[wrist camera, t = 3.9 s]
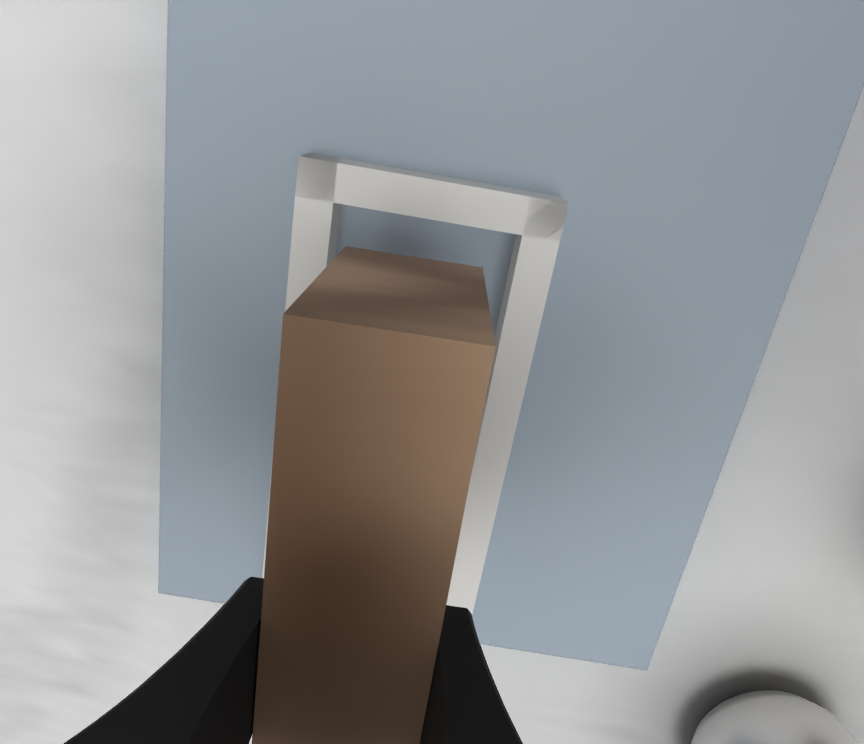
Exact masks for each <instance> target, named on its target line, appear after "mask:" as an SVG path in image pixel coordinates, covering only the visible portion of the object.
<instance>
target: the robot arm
mask: <svg viewBox="0 0 864 744" xmlns="http://www.w3.org/2000/svg"><path fill="white" fill-rule="evenodd" d="M263 584H264V578H258V577H249V578H248V579H246V580H245V581H244V582H243V583H242V584H241V586H240V587H239V588H238V589H237V590H236V592H235V593H234V594H233V595H232V596H231V597H230V598H229V600H228V601H227V602H226V603H225V604H224V605H223V606H222V607H221V608H220V610H219V611H218V612H217V613H216V614H215V615H214V616H213V617H212V618H211V619H210V620H209V621H208V622H207V623H206V624H205V625H204V626H203V627H202V628H201V629H200V630H199V631H198V632H197V633H196V634H195V635H194V636H193V637H192V638H191V639H190V640H189V641H188V642H187V643H186V644H185V645H184V646H183V647H182V648H181V649H180V650H179V651H178V652H177V653H176V654H175V655H174V656H173V657H172V658H171V659H169V660H168V661H167V662H166V663H165V664H164V665H163V666H162V667H161V668H159V669H158V670H157V671H156V672H155V673H154V674H153V675H152V676H151V677H149V678H148V679H147V680H146V681H145V682H144V683H143V684H141V685H140V686H139V687H138V688H137V689H136V690H134V691H133V692H132V693H131V694H130V695H128V696H127V697H126V698H125V699H123V700H122V701H121V702H120V703H118V704H117V705H116V706H115V707H113V708H112V709H111V710H109V711H108V712H107V713H105V714H104V715H103V716H102V717H100V718H99V719H98V720H96V721H95V722H94V723H92V724H91V725H89V726H88V727H87V728H85V729H84V730H82V731H81V732H79V733H78V734H77V735H75V736H74V737H72V738H71V739H70V740H68V741H67V742H65V743H64V744H249V741H250V739H251V736H252V734H253V722H254V709H255V695H256V681H257V667H258V653H259V640H260V626H261V612H262V598H263ZM420 744H523V743H522V741H521V739H520V737H519V735H518V733H517V731H516V729H515V727H514V725H513V723H512V721H511V719H510V717H509V715H508V712H507V710H506V708H505V706H504V704H503V701H502V699H501V697H500V694H499V692H498V690H497V687H496V685H495V683H494V680H493V678H492V675H491V673H490V670H489V668H488V665H487V662H486V660H485V657H484V654H483V651H482V648H481V645H480V642H479V639H478V636H477V633H476V629H475V626H474V622H473V618H472V614H471V612H470V611H469V610H468V609H467V608H463V607H456V606H449V605H446V609H445V614H444V619H443V624H442V630H441V635H440V640H439V645H438V650H437V656H436V661H435V666H434V671H433V676H432V682H431V687H430V692H429V697H428V703H427V708H426V713H425V718H424V723H423V729H422V734H421V739H420Z"/></svg>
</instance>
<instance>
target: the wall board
mask: <svg viewBox="0 0 864 744" xmlns="http://www.w3.org/2000/svg"><path fill="white" fill-rule="evenodd" d="M863 86H864V0H168V28H167V90H166V152H165V213H164V275H163V337H162V399H161V461H160V523H159V585H158V593H162V594H168V595H174V596H180V597H187V598H193V599H199V600H206V601H212V602H218V603H226V602H227V601H228V600H229V598H230V597H231V596H232V595H233V594H234V593H235V592H236V590H237V589H238V588H239V587H240V586H241V584H242V583H243V582H244V581H245V580H246V579H248V578H249V577H258V578H264V570H265V557H266V543H267V529H268V515H269V501H270V488H271V474H272V460H273V446H274V432H275V419H276V405H277V391H278V377H279V363H280V350H281V336H282V322H283V313H284V312H285V311H286V310H287V309H288V308H289V307H290V306H291V305H292V304H293V303H294V302H295V300H296V299H297V298H298V297H299V296H300V295H301V294H302V293H303V292H304V291H305V290H306V289H307V287H308V286H309V285H310V284H311V283H312V282H313V281H314V280H315V279H316V278H317V277H318V275H319V274H320V273H321V272H322V271H323V270H324V269H325V268H326V267H327V266H328V265H329V264H330V262H331V261H332V260H333V259H334V258H335V257H336V256H337V255H338V254H339V253H340V252H341V250H342V249H343V248H344V247H345V246H348V247H355V248H361V249H367V250H374V251H380V252H387V253H393V254H400V255H406V256H413V257H419V258H426V259H432V260H438V261H445V262H451V263H458V264H464V265H471V266H477V267H483V273H484V279H485V285H486V291H487V297H488V303H489V309H490V315H491V321H492V327H493V333H494V339H495V345H496V348H495V353H494V358H493V363H492V369H491V374H490V379H489V384H488V389H487V395H486V400H485V405H484V410H483V416H482V421H481V426H480V431H479V436H478V442H477V447H476V452H475V457H474V463H473V468H472V473H471V478H470V483H469V489H468V494H467V499H466V504H465V510H464V515H463V520H462V525H461V530H460V536H459V541H458V546H457V551H456V556H455V562H454V567H453V572H452V577H451V583H450V588H449V593H448V598H447V603H446V605H449V606H456V607H463V608H467V609H468V610H469V611H470V612H471V614H472V618H473V622H474V626H475V629H476V633H477V636H478V639H479V642H480V644H483V645H489V646H496V647H502V648H508V649H515V650H521V651H527V652H533V653H540V654H546V655H552V656H559V657H565V658H571V659H578V660H584V661H590V662H596V663H603V664H609V665H615V666H622V667H628V668H634V669H641V670H647V668H648V666H649V663H650V660H651V658H652V655H653V652H654V650H655V647H656V644H657V641H658V639H659V636H660V633H661V631H662V628H663V625H664V623H665V620H666V617H667V614H668V612H669V609H670V606H671V604H672V601H673V598H674V596H675V593H676V590H677V588H678V585H679V582H680V579H681V577H682V574H683V571H684V569H685V566H686V563H687V561H688V558H689V555H690V552H691V550H692V547H693V544H694V542H695V539H696V536H697V534H698V531H699V528H700V525H701V523H702V520H703V517H704V515H705V512H706V509H707V507H708V504H709V501H710V498H711V496H712V493H713V490H714V488H715V485H716V482H717V480H718V477H719V474H720V471H721V469H722V466H723V463H724V461H725V458H726V455H727V453H728V450H729V447H730V445H731V442H732V439H733V436H734V434H735V431H736V428H737V426H738V423H739V420H740V418H741V415H742V412H743V409H744V407H745V404H746V401H747V399H748V396H749V393H750V391H751V388H752V385H753V382H754V380H755V377H756V374H757V372H758V369H759V366H760V364H761V361H762V358H763V355H764V353H765V350H766V347H767V345H768V342H769V339H770V337H771V334H772V331H773V328H774V326H775V323H776V320H777V318H778V315H779V312H780V310H781V307H782V304H783V302H784V299H785V296H786V293H787V291H788V288H789V285H790V283H791V280H792V277H793V275H794V272H795V269H796V266H797V264H798V261H799V258H800V256H801V253H802V250H803V248H804V245H805V242H806V239H807V237H808V234H809V231H810V229H811V226H812V223H813V221H814V218H815V215H816V212H817V210H818V207H819V204H820V202H821V199H822V196H823V194H824V191H825V188H826V185H827V183H828V180H829V177H830V175H831V172H832V169H833V167H834V164H835V161H836V159H837V156H838V153H839V150H840V148H841V145H842V142H843V140H844V137H845V134H846V132H847V129H848V126H849V123H850V121H851V118H852V115H853V113H854V110H855V107H856V105H857V102H858V99H859V96H860V94H861V91H862V88H863Z"/></svg>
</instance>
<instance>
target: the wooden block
mask: <svg viewBox="0 0 864 744" xmlns="http://www.w3.org/2000/svg"><path fill="white" fill-rule="evenodd" d="M495 348H496V345H495V339H494V333H493V327H492V321H491V315H490V309H489V303H488V297H487V291H486V285H485V279H484V273H483V267H477V266H471V265H464V264H458V263H451V262H445V261H438V260H432V259H426V258H419V257H413V256H406V255H400V254H393V253H387V252H380V251H374V250H367V249H361V248H355V247H348V246H345V247H344V248H343V249H342V250H341V252H340V253H339V254H338V255H337V256H336V257H335V258H334V259H333V260H332V261H331V262H330V264H329V265H328V266H327V267H326V268H325V269H324V270H323V271H322V272H321V273H320V274H319V275H318V277H317V278H316V279H315V280H314V281H313V282H312V283H311V284H310V285H309V286H308V287H307V289H306V290H305V291H304V292H303V293H302V294H301V295H300V296H299V297H298V298H297V299H296V300H295V302H294V303H293V304H292V305H291V306H290V307H289V308H288V309H287V310H286V311H285V312H284V313H283V322H282V336H281V350H280V363H279V377H278V391H277V405H276V419H275V432H274V446H273V460H272V474H271V488H270V501H269V515H268V529H267V543H266V557H265V570H264V584H263V598H262V612H261V626H260V640H259V653H258V667H257V681H256V695H255V709H254V722H253V736H252V744H420V739H421V734H422V729H423V723H424V718H425V713H426V708H427V703H428V697H429V692H430V687H431V682H432V676H433V671H434V666H435V661H436V656H437V650H438V645H439V640H440V635H441V630H442V624H443V619H444V614H445V609H446V603H447V598H448V593H449V588H450V583H451V577H452V572H453V567H454V562H455V556H456V551H457V546H458V541H459V536H460V530H461V525H462V520H463V515H464V510H465V504H466V499H467V494H468V489H469V483H470V478H471V473H472V468H473V463H474V457H475V452H476V447H477V442H478V436H479V431H480V426H481V421H482V416H483V410H484V405H485V400H486V395H487V389H488V384H489V379H490V374H491V369H492V363H493V358H494V353H495Z"/></svg>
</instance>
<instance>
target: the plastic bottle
mask: <svg viewBox="0 0 864 744" xmlns="http://www.w3.org/2000/svg"><path fill="white" fill-rule="evenodd" d="M691 744H860V743H859V742H858V741H857V740H856V739H855V738H854V737H853V735H852V734H851V733H850V732H849V731H848V730H847V729H846V727H845V726H844V725H843V724H842V723H841V722H840V721H839V719H838V718H837V717H836V716H834V715H833V714H832V713H830V712H829V711H828V710H827V709H825V708H823V707H821V706H819V705H817V704H815V703H813V702H811V701H808V700H806V699H804V698H802V697H800V696H798V695H794V694H791V693H787V692H782V691H773V690H766V691H754V692H749V693H744V694H741V695H738V696H735V697H732V698H730V699H728V700H726V701H724V702H722V703H720V704H719V705H717V706H716V707H715V708H713V709H712V710H711V711H709V712H708V714H707V715H706V716H705V717H704V718H703V719H702V720H701V722H700V724H699V725H698V727H697V729H696V731H695V734H694V736H693V739H692V742H691Z"/></svg>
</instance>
